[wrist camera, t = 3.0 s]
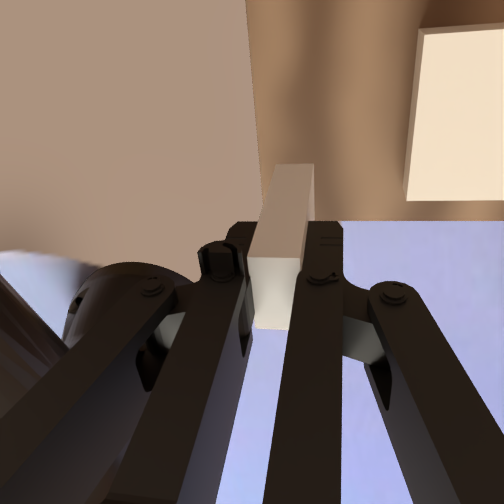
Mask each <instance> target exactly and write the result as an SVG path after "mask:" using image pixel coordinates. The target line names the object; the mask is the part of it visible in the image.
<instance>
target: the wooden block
mask: <svg viewBox="0 0 504 504" xmlns="http://www.w3.org/2000/svg"><path fill="white" fill-rule="evenodd" d="M245 1H246V12H247V24H248V34H249V47H250V58H251V70H252V80H253V81H252V82H253V93H254V105H255V116H256V126H257V138H258V150H259V161H260V172H261V183H262V196H263V204H264V201H265V198H266V195H267V192H268V188H269V185H270V182H271V179H272V176H273V172H274V169H275V166H276V164H314V211H315V221H504V200H471V201H406V197H405V194H404V190H403V177H404V168H405V158H406V148H407V138H408V128H409V118H410V109H411V99H412V89H413V79H414V69H415V59H416V50H417V40H418V30H419V29H421V28H435V27H448V26H461V25H475V24H488V23H502V22H504V0H245Z"/></svg>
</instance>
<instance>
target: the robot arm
mask: <svg viewBox="0 0 504 504" xmlns="http://www.w3.org/2000/svg"><path fill="white" fill-rule="evenodd" d="M197 253H198V258H199V264H200V268H201V274H202V275H201V278H200V280H199V281H198V282H195V283H193V282H192V281H190V280H189V279H187V278H186V277H184V276H182V275H180V274H178V273H176V272H174V271H172V270H169V269H167V268H164V267H160V266H157V265H153V264H148V263H141V262H122V263H116V264H111V265H108V266H105V267H103V268H101V269H99V270H97V271H96V272H94V273H93V274H92V275H90V276H89V277H88V278H87V280H86V281H85V282H84V284H83V285H82V286H81V287H80V289H79V290H78V291H77V293H76V294H75V296H74V297H73V299H72V301H71V304H70V306H69V310H68V314H67V318H66V322H65V326H64V330H63V334H62V338H61V339H60V338H59V337H58V336H57V335H56V334H55V332H54V331H53V330H52V329H51V328H50V327H49V326H48V325H47V324H46V323H45V322H44V321H43V320H42V318H41V317H40V316H39V315H38V314H37V313H36V312H35V311H34V310H33V309H32V308H31V307H30V306H29V304H28V303H27V302H26V301H25V300H24V299H23V298H22V297H21V296H20V295H19V294H18V293H17V292H16V290H15V289H14V288H13V287H12V286H11V285H10V284H9V283H8V282H7V281H6V280H5V279H4V278H3V276H2V275H1V274H0V504H215V503H216V498H217V494H218V490H219V485H220V481H221V476H222V472H223V468H224V463H225V459H226V455H227V450H228V446H229V442H230V437H231V433H232V429H233V424H234V420H235V415H236V411H237V407H238V402H239V398H240V394H241V389H242V385H243V381H244V376H245V372H246V368H247V363H248V359H249V354H250V350H251V346H252V341H253V336H252V323H253V319H254V321H255V328H258V329H277V330H289V331H288V337H287V344H286V351H285V357H284V364H283V371H282V377H281V384H280V390H279V397H278V404H277V410H276V417H275V424H274V430H273V437H272V444H271V450H270V457H269V464H268V470H267V477H266V483H265V490H264V497H263V503H262V504H341V438H342V355H343V356H346V357H349V358H352V359H355V360H358V361H361V362H364V368H365V371H366V374H367V377H368V379H369V382H370V385H371V388H372V391H373V393H374V396H375V399H376V402H377V404H378V407H379V410H380V413H381V415H382V418H383V421H384V424H385V426H386V429H387V432H388V435H389V438H390V440H391V443H392V446H393V449H394V451H395V454H396V457H397V460H398V462H399V465H400V468H401V471H402V474H403V476H404V479H405V482H406V485H407V487H408V490H409V493H410V496H411V498H412V501H413V504H504V434H503V433H502V431H501V429H500V428H499V426H498V424H497V423H496V421H495V419H494V418H493V416H492V414H491V413H490V411H489V409H488V408H487V406H486V404H485V403H484V401H483V400H482V398H481V396H480V395H479V393H478V391H477V390H476V388H475V386H474V385H473V383H472V381H471V380H470V378H469V376H468V375H467V373H466V371H465V370H464V368H463V366H462V365H461V363H460V361H459V360H458V358H457V356H456V355H455V353H454V351H453V350H452V348H451V347H450V345H449V343H448V342H447V340H446V338H445V337H444V335H443V333H442V332H441V330H440V328H439V327H438V325H437V323H436V322H435V320H434V318H433V317H432V315H431V313H430V312H429V310H428V308H427V307H426V305H425V303H424V302H423V300H422V298H421V297H420V295H419V293H418V292H417V291H416V290H415V289H414V288H413V287H411V286H409V285H407V284H405V283H401V282H397V281H384V282H380V283H377V284H375V285H374V286H372V287H371V288H370V290H366V289H363V288H360V287H357V286H355V285H353V284H351V283H350V282H349V281H347V280H346V278H345V277H344V274H343V228H342V227H341V225H340V224H339V223H338V221H315V211H314V164H276V166H275V169H274V172H273V176H272V179H271V182H270V185H269V188H268V192H267V195H266V198H265V201H264V204H263V207H262V211H261V214H260V217H259V220H258V222H237V223H236V224H234V225H233V226H232V227H231V228H230V229H229V231H228V233H227V236H226V239H225V240H223V241H214V242H211V243H208V244H206V245H204V246H203V247H201V248H200V250H199V251H198V252H197Z"/></svg>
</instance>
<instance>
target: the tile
mask: <svg viewBox="0 0 504 504" xmlns="http://www.w3.org/2000/svg"><path fill="white" fill-rule="evenodd" d="M403 190H404V194H405V197H406V201H471V200H504V22H502V23H488V24H475V25H461V26H448V27H435V28H421V29H419V30H418V40H417V50H416V59H415V69H414V79H413V89H412V99H411V109H410V118H409V128H408V138H407V148H406V158H405V168H404V177H403Z"/></svg>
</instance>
